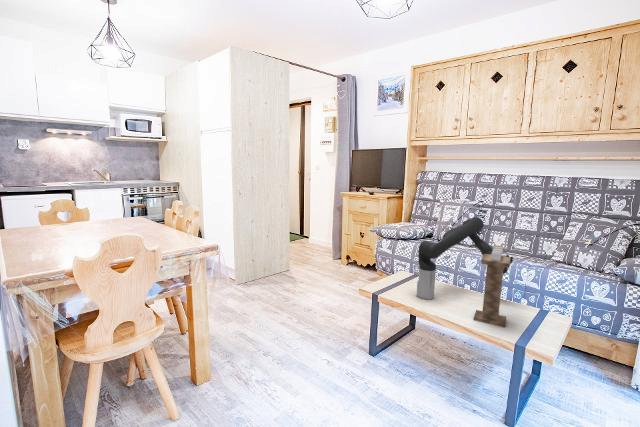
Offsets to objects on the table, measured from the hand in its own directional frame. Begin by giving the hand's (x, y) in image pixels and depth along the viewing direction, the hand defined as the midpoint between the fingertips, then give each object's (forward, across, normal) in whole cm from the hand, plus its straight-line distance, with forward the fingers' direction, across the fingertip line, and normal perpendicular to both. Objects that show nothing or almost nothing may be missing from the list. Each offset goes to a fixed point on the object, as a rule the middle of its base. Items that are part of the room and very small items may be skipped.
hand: (498, 254), depth 180 cm
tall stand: (+4, 0, +36) cm, 36 cm away
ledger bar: (+15, 0, +6) cm, 16 cm away
